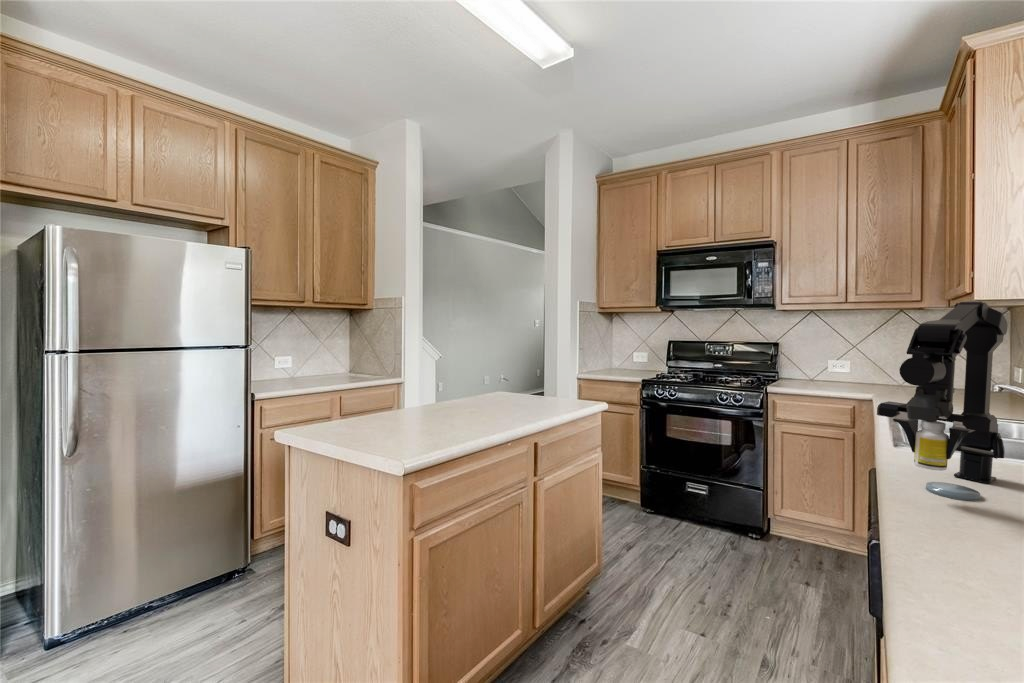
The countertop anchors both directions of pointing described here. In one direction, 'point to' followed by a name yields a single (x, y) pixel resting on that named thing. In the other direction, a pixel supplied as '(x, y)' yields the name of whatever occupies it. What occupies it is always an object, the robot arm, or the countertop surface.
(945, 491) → the dish
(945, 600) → the countertop surface
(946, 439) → the supplement bottle
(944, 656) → the countertop surface
